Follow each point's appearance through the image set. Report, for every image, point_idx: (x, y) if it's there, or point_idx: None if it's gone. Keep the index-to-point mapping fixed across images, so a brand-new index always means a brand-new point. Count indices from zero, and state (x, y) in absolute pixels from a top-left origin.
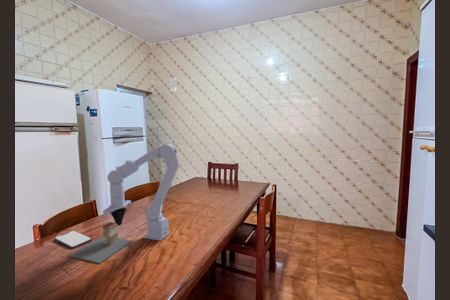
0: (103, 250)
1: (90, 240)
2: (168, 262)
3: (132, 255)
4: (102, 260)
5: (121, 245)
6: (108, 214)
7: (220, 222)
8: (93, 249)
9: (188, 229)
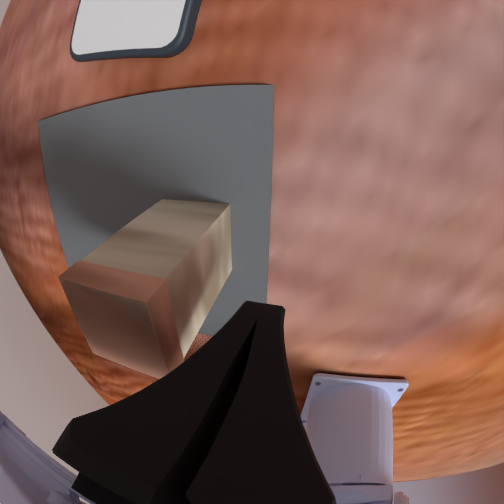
0: None
1: (162, 56)
2: None
3: None
4: None
5: None
6: (25, 435)
7: (430, 470)
8: (100, 193)
9: (399, 448)
